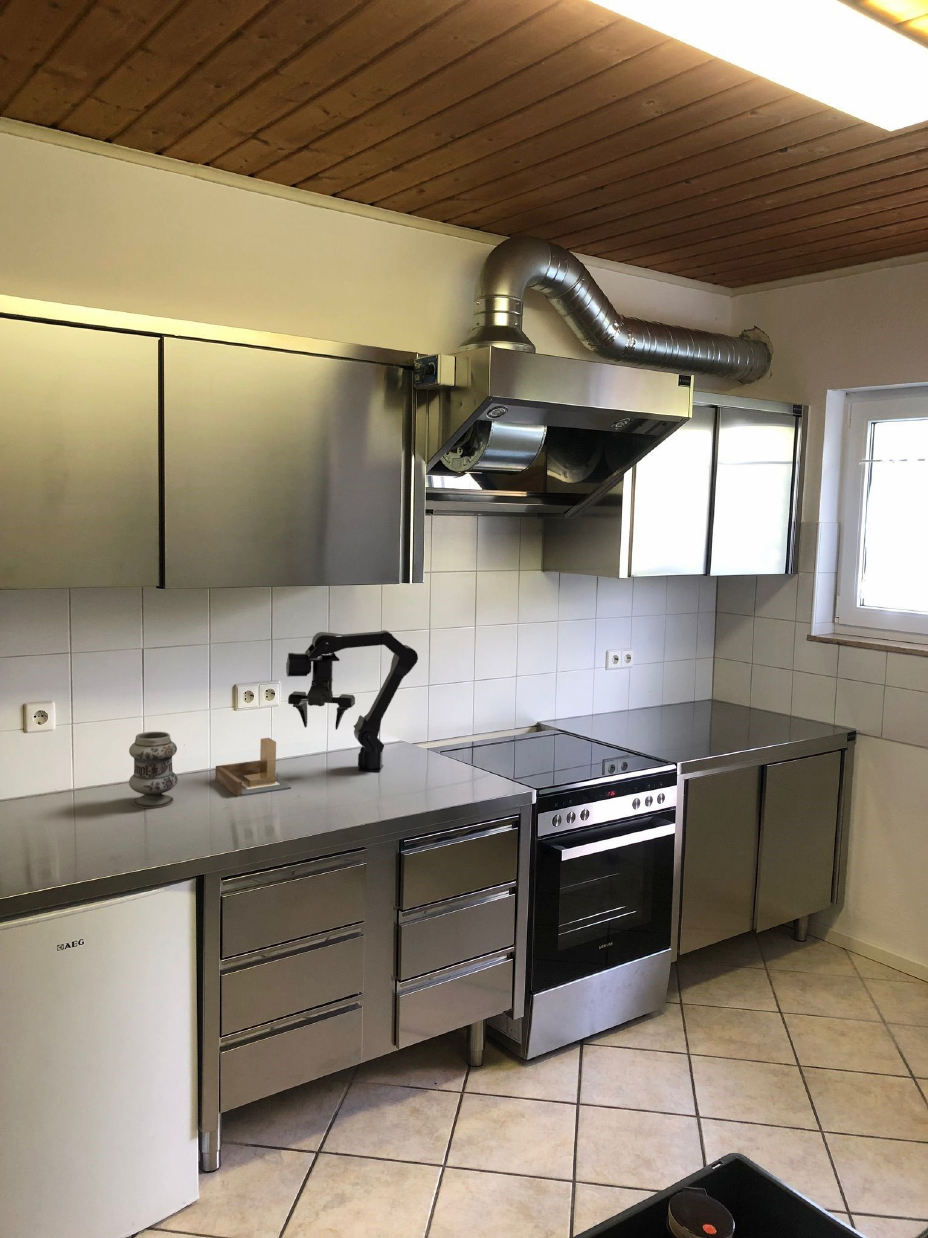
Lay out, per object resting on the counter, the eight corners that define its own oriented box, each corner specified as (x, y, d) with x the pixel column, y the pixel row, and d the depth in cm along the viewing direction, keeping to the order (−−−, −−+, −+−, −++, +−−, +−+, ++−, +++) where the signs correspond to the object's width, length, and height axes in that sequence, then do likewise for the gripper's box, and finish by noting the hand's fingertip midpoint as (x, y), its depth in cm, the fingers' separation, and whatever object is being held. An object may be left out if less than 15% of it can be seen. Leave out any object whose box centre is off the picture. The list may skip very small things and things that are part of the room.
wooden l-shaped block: (268, 779, 272) (268, 737, 270) (275, 783, 268) (276, 742, 266) (243, 782, 268) (243, 740, 266) (249, 787, 264) (250, 745, 262)
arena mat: (268, 774, 278) (268, 772, 278) (291, 788, 266) (291, 786, 266) (222, 780, 271) (222, 778, 270) (242, 795, 258) (242, 794, 258)
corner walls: (266, 772, 280) (267, 759, 279) (291, 788, 266) (291, 774, 265) (215, 779, 271) (215, 766, 270) (237, 796, 257) (237, 782, 257)
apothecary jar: (158, 792, 258) (158, 726, 256) (187, 801, 251) (187, 734, 249) (119, 802, 249) (118, 734, 246) (148, 813, 242) (148, 743, 239)
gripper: (283, 679, 272) (282, 732, 274) (347, 683, 271) (346, 737, 273) (293, 672, 283) (292, 723, 285) (356, 676, 282) (354, 727, 284)
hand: (321, 728), depth 282 cm, fingers open, 9 cm apart
